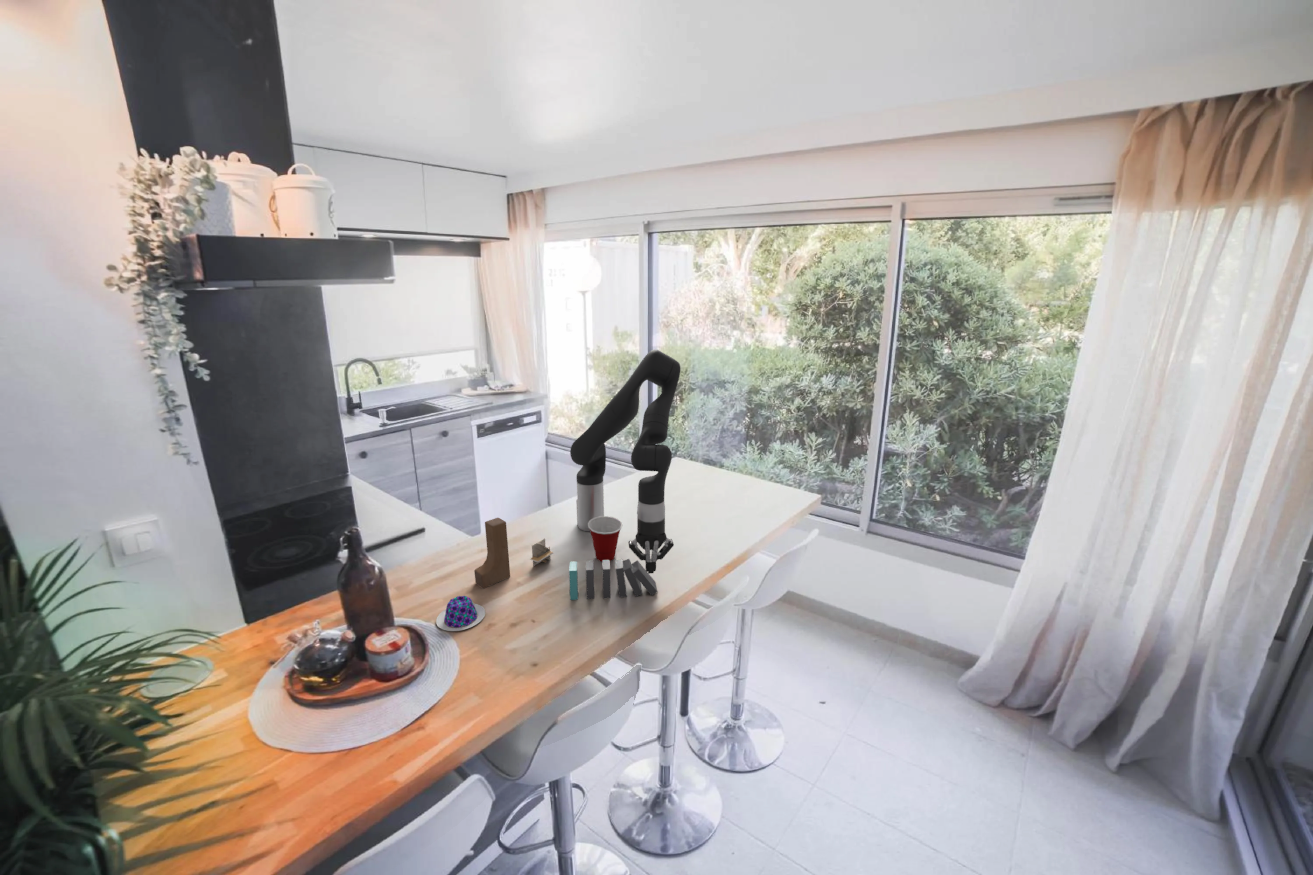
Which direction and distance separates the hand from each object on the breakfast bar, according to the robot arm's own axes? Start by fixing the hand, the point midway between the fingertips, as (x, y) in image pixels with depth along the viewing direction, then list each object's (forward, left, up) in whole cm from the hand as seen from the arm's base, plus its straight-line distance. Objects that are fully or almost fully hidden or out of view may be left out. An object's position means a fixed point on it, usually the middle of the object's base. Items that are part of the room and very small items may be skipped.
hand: (650, 571), depth 150 cm
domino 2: (-9, -14, -6) cm, 18 cm away
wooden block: (-33, -32, -6) cm, 47 cm away
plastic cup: (-23, +1, -6) cm, 24 cm away
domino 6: (+1, +1, -5) cm, 5 cm away
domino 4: (-4, -7, -6) cm, 10 cm away
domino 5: (-2, -3, -6) cm, 7 cm away
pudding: (-21, -46, -6) cm, 51 cm away
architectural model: (-33, -16, -7) cm, 38 cm away
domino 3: (-7, -10, -6) cm, 14 cm away
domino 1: (-12, -18, -6) cm, 22 cm away
